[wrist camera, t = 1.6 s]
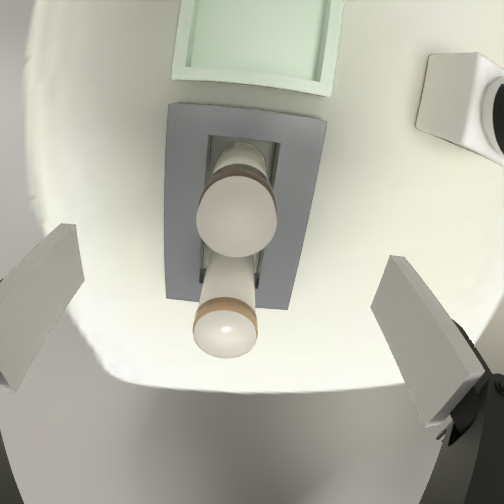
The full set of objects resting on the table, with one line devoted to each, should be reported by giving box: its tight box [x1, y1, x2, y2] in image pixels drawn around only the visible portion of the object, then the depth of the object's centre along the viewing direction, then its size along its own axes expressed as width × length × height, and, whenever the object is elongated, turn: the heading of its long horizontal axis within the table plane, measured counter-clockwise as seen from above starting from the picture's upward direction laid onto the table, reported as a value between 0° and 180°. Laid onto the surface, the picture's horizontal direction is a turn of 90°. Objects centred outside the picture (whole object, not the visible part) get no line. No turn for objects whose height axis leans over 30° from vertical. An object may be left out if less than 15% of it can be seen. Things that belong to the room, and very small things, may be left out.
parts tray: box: [171, 0, 344, 97], centre depth 18 cm, size 14×12×2 cm
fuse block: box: [164, 103, 327, 310], centre depth 27 cm, size 18×12×2 cm, turn 173°
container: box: [416, 53, 504, 167], centre depth 17 cm, size 8×8×13 cm
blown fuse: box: [196, 143, 277, 257], centre depth 21 cm, size 4×4×12 cm
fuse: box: [193, 248, 258, 358], centre depth 24 cm, size 4×4×12 cm
